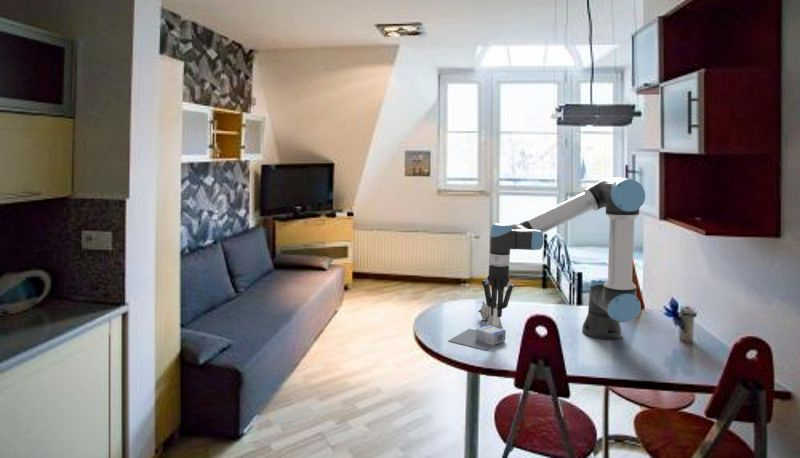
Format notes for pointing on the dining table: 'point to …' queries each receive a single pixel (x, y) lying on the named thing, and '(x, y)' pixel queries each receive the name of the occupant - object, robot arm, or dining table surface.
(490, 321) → the flask
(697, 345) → the dining table surface
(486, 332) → the medicine box
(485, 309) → the game die
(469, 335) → the mat
